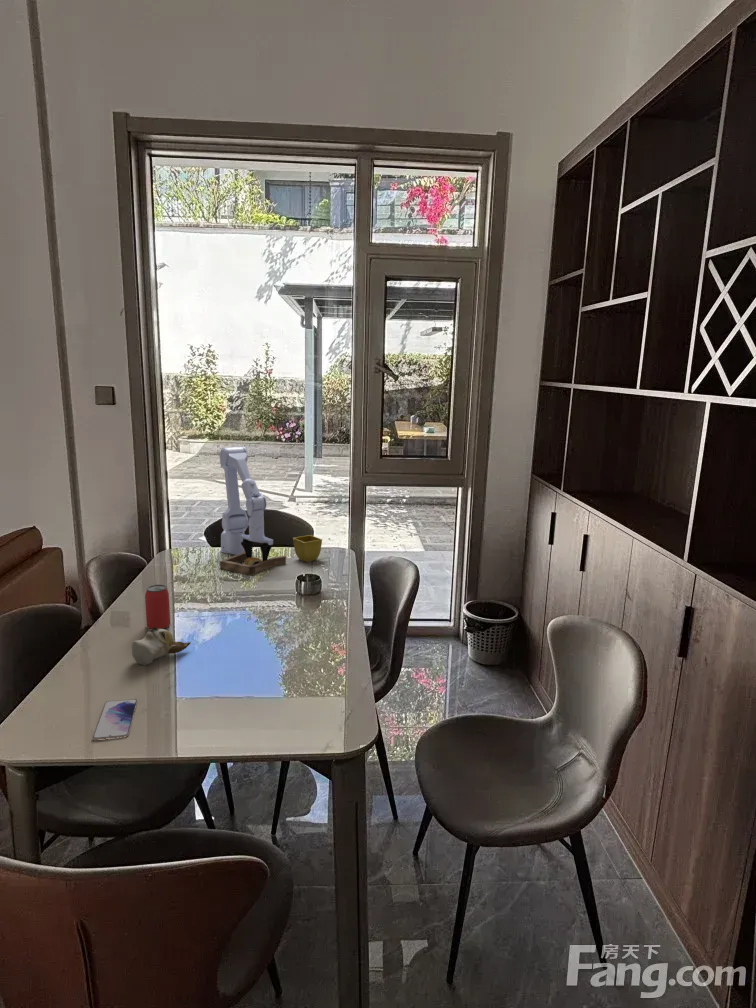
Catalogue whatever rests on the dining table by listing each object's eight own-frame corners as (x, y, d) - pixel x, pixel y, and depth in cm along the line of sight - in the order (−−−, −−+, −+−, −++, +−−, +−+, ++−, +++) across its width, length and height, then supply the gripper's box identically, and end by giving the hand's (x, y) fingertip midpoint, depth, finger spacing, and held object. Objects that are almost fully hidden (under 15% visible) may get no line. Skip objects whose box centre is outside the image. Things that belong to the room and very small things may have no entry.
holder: (215, 567, 234) (215, 560, 233) (246, 555, 250) (246, 548, 249) (257, 576, 224) (257, 568, 224) (287, 563, 240) (286, 556, 240)
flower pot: (310, 555, 252) (310, 534, 250) (322, 560, 245) (322, 539, 243) (292, 559, 246) (292, 537, 244) (304, 564, 240) (304, 542, 238)
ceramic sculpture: (118, 631, 154) (163, 614, 168) (118, 663, 156) (163, 644, 169) (148, 640, 150) (192, 623, 163) (148, 673, 151) (192, 653, 164)
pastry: (240, 564, 239) (240, 554, 238) (257, 561, 243) (256, 552, 242) (249, 570, 231) (249, 561, 230) (266, 568, 235) (265, 558, 234)
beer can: (162, 631, 175) (160, 592, 173) (142, 629, 177) (139, 590, 174) (174, 622, 182) (172, 584, 179) (154, 620, 183) (152, 582, 180)
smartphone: (138, 698, 139) (128, 735, 125) (138, 702, 139) (128, 739, 125) (104, 700, 137) (90, 738, 123) (104, 704, 137) (91, 742, 123)
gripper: (277, 526, 237) (278, 560, 240) (248, 522, 244) (249, 554, 246) (266, 530, 231) (267, 564, 234) (236, 525, 237) (237, 558, 240)
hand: (257, 559), depth 240 cm, fingers open, 7 cm apart
